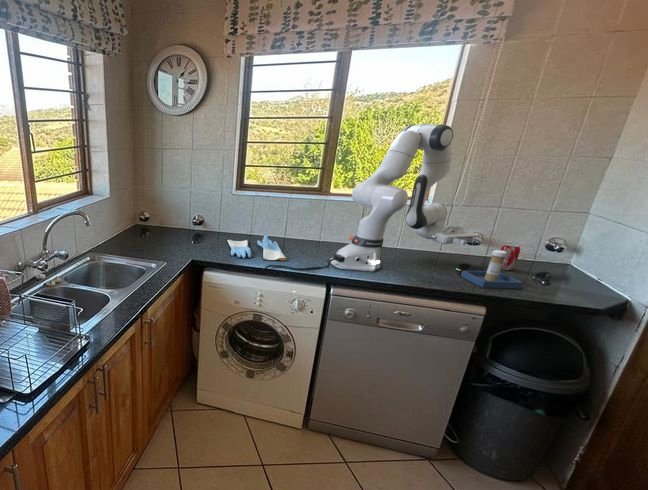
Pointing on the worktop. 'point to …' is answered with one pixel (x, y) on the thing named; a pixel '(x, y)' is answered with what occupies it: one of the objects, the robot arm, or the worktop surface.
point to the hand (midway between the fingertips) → (472, 242)
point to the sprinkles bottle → (495, 265)
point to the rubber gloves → (269, 248)
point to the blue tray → (501, 282)
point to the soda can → (510, 255)
